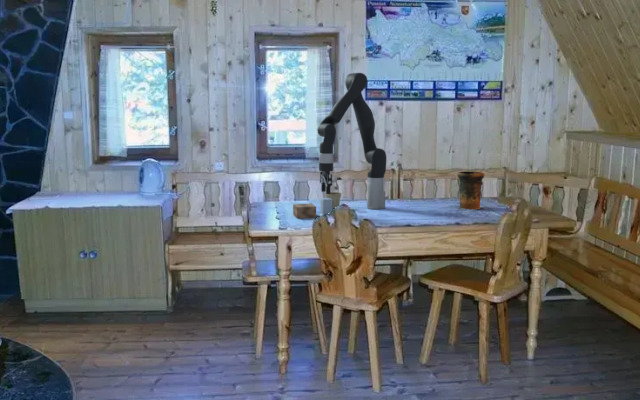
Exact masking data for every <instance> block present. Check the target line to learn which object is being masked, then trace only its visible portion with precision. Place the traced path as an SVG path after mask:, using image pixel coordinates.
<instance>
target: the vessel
mask: <svg viewBox="0 0 640 400" xmlns="http://www.w3.org/2000/svg"><path fill="white" fill-rule="evenodd" d="M457 177H458V180H459V206H457V207H458V209H461V210H469V209H472V210H471V211H474V210H480V209H482V207H481V197H482V184H483V179H484V177H485V173H484V172H482V171H475V170H472V171H468V170H467V171H466V170H465V171H459V172H458V173H457ZM469 211H470V210H469Z"/></svg>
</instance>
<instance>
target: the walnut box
mask: <svg viewBox="0 0 640 400" xmlns="http://www.w3.org/2000/svg"><path fill="white" fill-rule="evenodd" d="M292 215H293V216H294V217H295V218H296V219H313V218H315V219H316V218H317V206H316V205H315V204H313V203H312V202H311V203H293V204H292Z"/></svg>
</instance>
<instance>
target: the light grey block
mask: <svg viewBox="0 0 640 400" xmlns="http://www.w3.org/2000/svg"><path fill="white" fill-rule="evenodd" d="M319 200H320V201H319V202H320V206H319V207H320V213H319V214H321V215H323V214H326V216H327V215H329V214H328V213H329V212H330V211H331V210H332V211H333V209H332V199H331V198H326V197H321V198H320V199H319Z"/></svg>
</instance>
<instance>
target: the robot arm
mask: <svg viewBox="0 0 640 400" xmlns="http://www.w3.org/2000/svg"><path fill="white" fill-rule="evenodd" d="M344 83H345V88H346V93H345V94H344V95H343V96H341V98H340V99H338V101H336V103H335V104H334V105H333V107H332V108H331V110H330V112H329V113H328V114H327V116H325V117H324V119H322V121H321V122H320V123H319V124H318V127H317V134H318V135H319V137H323V141H321V142H320V144H319V155H318V156H319V157H318V171H319V183H320V184H321V185H320V186H321V189H320V191H321V192H324V193H326V194H330V192H331V188H332V187H333V174H331V173H330V172H333V171H334V144H335V140H336V135H337V129H336V126H335V125H336V124H339V123H340V122H341V120H342V119H343V118H344V116H345V114H346V112H347V111H348V109H349V108H350V106H351V105H352V108H353V111H354V114H355V119H356V122H357V126H358V129H359V130H358V131H359V134H360V137H361V141H362V146H363V147H362V148H363V154H364V158H365V161H366V162H367V163H368V164H369V165H371V166H370V167H371V169H369V171H368V172H367V178H366V179H367V182H366V183H367V184H366V185H367V186H366V187H367V188H366V191H367V193H366V198H367V199H366V200H367V201H366V208H367V209H368V210H369V209H370V210H381V209H386V191H385V174H386V172H387V171H386V170H387V152H386V151H385V150H384V149H383V148H380V147H379V148H378V147H377V145H376V144H377V143H376V142H375V129H376V123H375V122H376V121H375V119H374V114H373V110H372V109H371V108H370V106H369V104H368V103H367V102H366V100H365V99H364V97H363V94H362V92H363V91H364V90H365V89H366V87H367V85H368V77H367V76H366V74H365V73H363V72H353V73H349V74H347V75H346V77H345V81H344Z"/></svg>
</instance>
